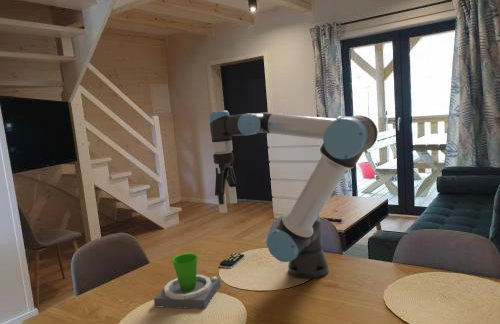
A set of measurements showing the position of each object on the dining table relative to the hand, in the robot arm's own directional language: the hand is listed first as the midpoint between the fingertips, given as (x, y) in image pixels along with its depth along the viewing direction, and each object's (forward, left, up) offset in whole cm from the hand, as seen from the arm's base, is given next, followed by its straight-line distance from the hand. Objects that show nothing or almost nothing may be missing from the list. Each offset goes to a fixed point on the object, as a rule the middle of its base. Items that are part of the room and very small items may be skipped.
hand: (228, 207), depth 140 cm
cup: (+12, +18, -24) cm, 32 cm away
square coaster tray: (+12, +18, -27) cm, 34 cm away
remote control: (+5, -12, -27) cm, 30 cm away
